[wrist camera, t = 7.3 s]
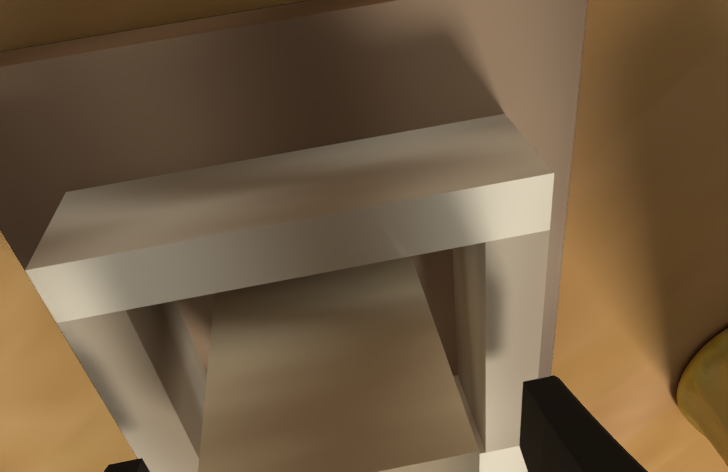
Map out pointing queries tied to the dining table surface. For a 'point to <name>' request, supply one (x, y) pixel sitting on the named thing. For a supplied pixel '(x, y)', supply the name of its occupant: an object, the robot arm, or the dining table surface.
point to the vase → (708, 392)
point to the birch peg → (332, 378)
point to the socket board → (296, 187)
